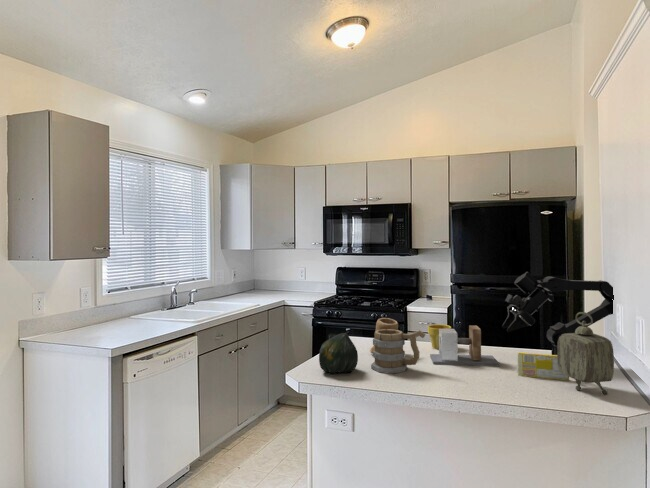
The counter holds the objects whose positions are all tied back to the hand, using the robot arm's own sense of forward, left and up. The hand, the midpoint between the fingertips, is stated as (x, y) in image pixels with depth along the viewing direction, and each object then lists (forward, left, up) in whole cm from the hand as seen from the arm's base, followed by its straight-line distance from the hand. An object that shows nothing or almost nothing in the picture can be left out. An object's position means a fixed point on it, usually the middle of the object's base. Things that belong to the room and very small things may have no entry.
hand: (505, 329), depth 177 cm
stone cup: (+38, +30, -13) cm, 50 cm away
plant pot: (+31, +4, -13) cm, 34 cm away
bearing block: (+14, +17, -12) cm, 25 cm away
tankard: (+16, +42, -13) cm, 47 cm away
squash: (+27, +62, -13) cm, 69 cm away
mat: (+11, +13, -13) cm, 21 cm away
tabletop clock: (-35, +9, -13) cm, 38 cm away
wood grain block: (+11, +13, -12) cm, 20 cm away
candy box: (-20, +7, -13) cm, 25 cm away
